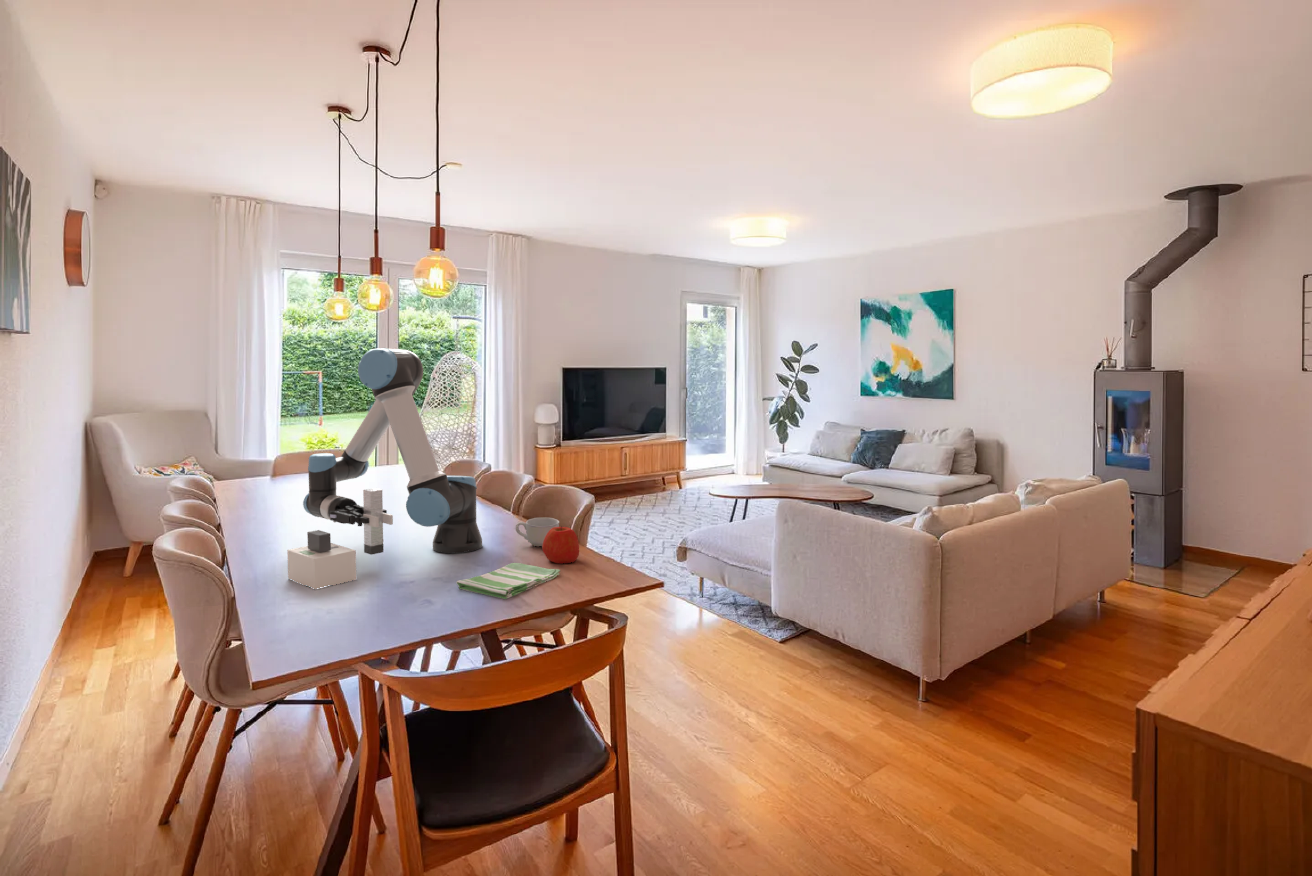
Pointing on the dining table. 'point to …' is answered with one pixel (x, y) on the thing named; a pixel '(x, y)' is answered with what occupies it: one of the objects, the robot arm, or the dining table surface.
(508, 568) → the dish towel
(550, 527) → the teacup
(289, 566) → the bevelled white plinth
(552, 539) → the apple
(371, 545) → the white tall square post
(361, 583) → the dining table surface
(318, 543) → the knob
